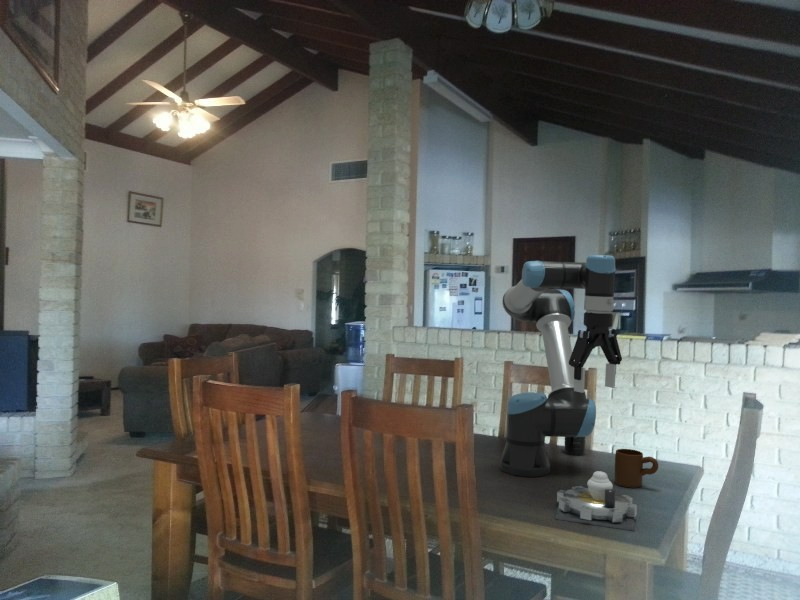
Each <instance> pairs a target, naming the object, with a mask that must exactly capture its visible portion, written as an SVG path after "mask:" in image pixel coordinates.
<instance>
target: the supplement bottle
mask: <svg viewBox="0 0 800 600" xmlns="http://www.w3.org/2000/svg"><path fill="white" fill-rule="evenodd" d="M563 447H564V453H565V454H566V455H568V456H578V457H579V456H584V455H585V454H586V437H577V438H575V437H564V446H563Z"/></svg>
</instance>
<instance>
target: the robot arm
mask: <svg viewBox="0 0 800 600" xmlns="http://www.w3.org/2000/svg"><path fill="white" fill-rule="evenodd" d="M521 270H522V271H521V279H520V281H518V282H517V284H516V285H513V286H511V287H510V288H508V289H507V290H506V291H505V292H504V294H503V297H502V307H503V309H504V311H505V312H506V314H507V315H509V317H510V318H513V319H515V320H517V321H519V322H526V323H527V322H528V323H535V325H536V328H537V330H539V332H541V333H542V334H541V335H542V341H543V347H544V352H545V358H546V363H547V364H546V365H547V371H548V376H549V383H550V387H551V391H550V393H548V395H546V394H545V393H543V392H534V391H533V392H531V391H530V392H520V393H517V394H513V395H512V396H510V397H509V399H508V401H507V405H506V406H507V407H506V408H507V409H506V434H505V435H506V436H505V438H506V442H505V446H504V448H503V451H502V453H501V455H500V460H499V469H500V470H501V471H503V472H504V473H507V474H509V475H514V476H518V477H529V478H530V477H531V478H532V477H533V478H535V477H543V476H547V475H549V474H550V473H551V472H550V469H551V463H550V461H549V460H550V459H549V456H548V454H547V451H546V446H545V444H546V437H553V438H554V437H556V438H557V437H559V438H561V437H562V438H565V437H575V438H577V437H585V438H586V437H589V436H590V435H591V434H592V432H593V430H594V428H595V426H596V425H595V424H596V418H597V408H596V407H597V406H596V402H595V401H594V400H593V399H592V398H587V393H586V390H585V383H586V382H585V381H586V378H585V377H586V368H585V367H584V366H585V364H586V362H587V360H588V358H589V357H590V355H591V353H592V351H593V349H595V348H596V347H598V348H599V347H600V349H601V350H602V352H603V354H604V357H605V358H606V360H607V363H605V373H604V374H605V377H604V378H605V380H604V387H606V388H610V389H611V388H612V389H615V388H616V375H617V365H618V366H619V365H621V362H622V361H623V357H622V354H621V353H622V352H621V350H620V346H619V342H618V337H617V329H616V328H615V329H614V328H612V327H613V320H614V319H613V317H614V315H613V313H612V312H613V311H614V294H615V281H616V280H615V279H616V270H617V269H616V258H615V256H614V255H607V254H606V255H605V254H591V255H587V257H586V262H577V261H576V262H572V261H570V262H569V261H548V260H547V261H542V260H530V261H526V262H525V263H524V264H523V267H522V269H521ZM566 289H573V290H575V289H578V290H580V289H581V290H584V298H583V299H584V304H583V310H584V311H585V312H584V313H583V325H584V326H585V327H586V329H585V330H583V329H578V331H577V337H576V341H575V343H574V346H573V347H572V344H571V339H570V334H569V328H570V325H571V323H572V322H573V320H574V319H575V315H576V314H575V313H576V312H575V302H574V298H573V297H572V294H571V293H570V292H569V291H568V290H566Z"/></svg>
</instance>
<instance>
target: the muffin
mask: <svg viewBox="0 0 800 600" xmlns="http://www.w3.org/2000/svg"><path fill="white" fill-rule="evenodd" d="M586 484H587V488H588V489H589V491H590V493H591V495H592V498H593V499H595V500H598V501H605V489H614V488H613V487H614V486H613V483H612V481H610V479H609V477H608V474H607V473H606V472H604V471H601V470H598V471H595V472H593V474H592V476H591V477H590V478H589V479H588V480H587V483H586Z"/></svg>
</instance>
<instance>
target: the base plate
mask: <svg viewBox="0 0 800 600" xmlns="http://www.w3.org/2000/svg"><path fill="white" fill-rule="evenodd" d="M632 504H634V502H633V503H632ZM554 520H559V521H560V520H561V521H566V522H572V523H573V522H574V523H578V524H579V523H580V524H587V525H593V526H600V527H606V528H613V529H620V530H626V531H632V532H635V531H636V530H635V529H636V528H635V525H636V524H635V518H633V517H628V516H627V517H625V518H623V519H622V522H611V521H610V520H600V519H592V520H586V519H582V518H580V515H577V514H574V513H572V512H570V511H569V512H563V511H562V510H561V509H559V504H558V506H557V509H556V512H555V518H554Z"/></svg>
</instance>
